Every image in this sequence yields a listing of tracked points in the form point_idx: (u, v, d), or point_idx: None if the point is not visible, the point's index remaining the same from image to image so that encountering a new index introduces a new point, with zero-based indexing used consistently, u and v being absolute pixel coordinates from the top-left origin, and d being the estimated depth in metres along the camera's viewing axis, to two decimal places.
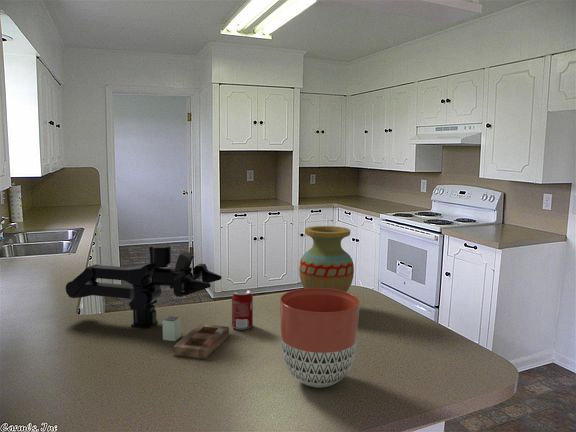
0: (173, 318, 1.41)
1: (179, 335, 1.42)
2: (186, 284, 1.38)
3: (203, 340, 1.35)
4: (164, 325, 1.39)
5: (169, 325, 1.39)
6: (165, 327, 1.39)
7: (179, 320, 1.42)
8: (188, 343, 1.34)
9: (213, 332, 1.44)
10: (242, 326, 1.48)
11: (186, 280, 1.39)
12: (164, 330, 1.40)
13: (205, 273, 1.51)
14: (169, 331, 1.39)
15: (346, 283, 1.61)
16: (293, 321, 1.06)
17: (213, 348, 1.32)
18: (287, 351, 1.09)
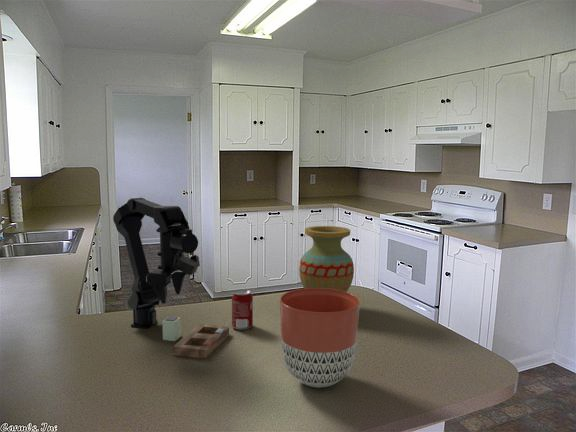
0: (173, 318, 1.41)
1: (179, 335, 1.42)
2: None
3: (203, 340, 1.35)
4: (164, 325, 1.39)
5: (169, 325, 1.39)
6: (165, 327, 1.39)
7: (179, 320, 1.42)
8: (188, 343, 1.34)
9: (213, 332, 1.44)
10: (242, 326, 1.48)
11: None
12: (164, 330, 1.40)
13: (180, 276, 1.44)
14: (169, 331, 1.39)
15: (346, 283, 1.61)
16: (293, 321, 1.06)
17: (213, 348, 1.32)
18: (287, 351, 1.09)
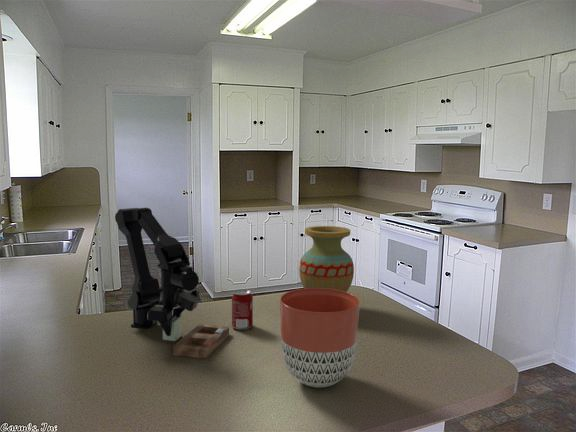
0: None
1: (179, 335, 1.42)
2: None
3: (203, 340, 1.35)
4: None
5: None
6: None
7: (179, 320, 1.42)
8: (188, 343, 1.34)
9: (213, 332, 1.44)
10: (242, 326, 1.48)
11: None
12: None
13: (178, 312, 1.43)
14: None
15: (346, 283, 1.61)
16: (293, 321, 1.06)
17: (213, 348, 1.32)
18: (287, 351, 1.09)
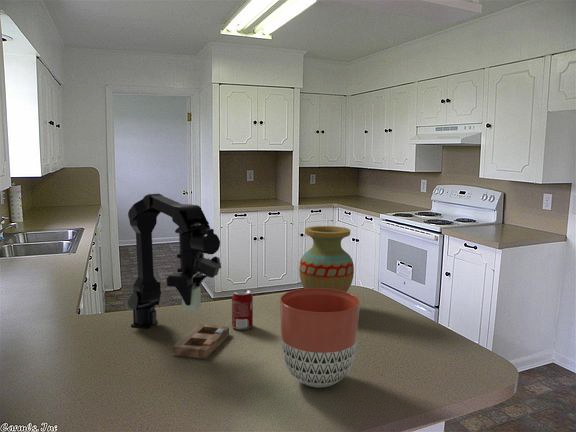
0: (193, 286, 1.32)
1: (199, 305, 1.33)
2: None
3: (203, 340, 1.35)
4: None
5: None
6: None
7: (199, 289, 1.33)
8: (188, 343, 1.34)
9: (213, 332, 1.44)
10: (242, 326, 1.48)
11: None
12: None
13: (197, 281, 1.34)
14: None
15: (346, 283, 1.61)
16: (293, 321, 1.06)
17: (213, 348, 1.32)
18: (287, 351, 1.09)
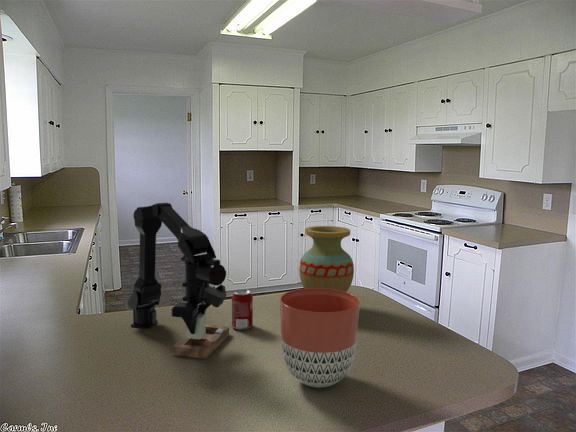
0: (198, 315, 1.31)
1: (204, 333, 1.33)
2: None
3: (203, 340, 1.35)
4: None
5: None
6: None
7: (204, 317, 1.32)
8: (188, 343, 1.34)
9: (213, 332, 1.44)
10: (242, 326, 1.48)
11: None
12: None
13: (202, 309, 1.34)
14: None
15: (346, 283, 1.61)
16: (293, 321, 1.06)
17: (213, 348, 1.32)
18: (287, 351, 1.09)
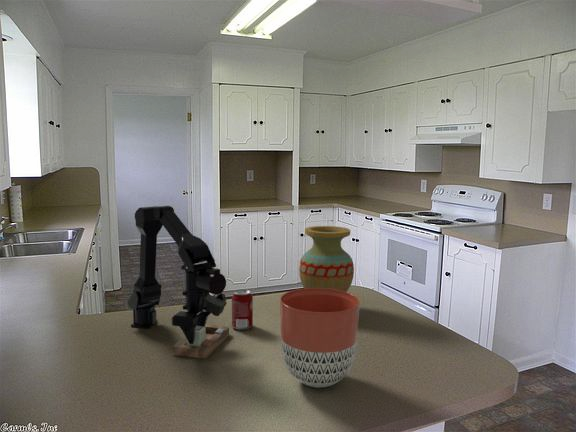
0: (198, 327, 1.32)
1: None
2: None
3: None
4: None
5: None
6: None
7: (204, 329, 1.33)
8: None
9: (213, 332, 1.44)
10: (242, 326, 1.48)
11: None
12: None
13: (203, 316, 1.35)
14: (194, 342, 1.30)
15: (346, 283, 1.61)
16: (293, 321, 1.06)
17: (213, 348, 1.32)
18: (287, 351, 1.09)
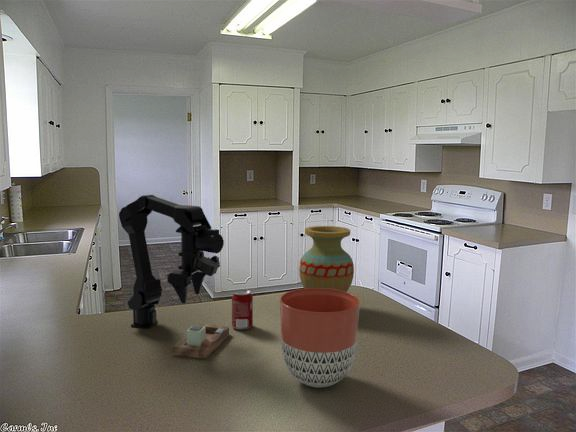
0: (198, 327, 1.32)
1: None
2: None
3: None
4: (188, 335, 1.31)
5: (194, 335, 1.30)
6: (190, 337, 1.31)
7: (204, 329, 1.33)
8: None
9: (213, 332, 1.44)
10: (242, 326, 1.48)
11: None
12: (188, 340, 1.31)
13: (200, 276, 1.44)
14: (194, 342, 1.30)
15: (346, 283, 1.61)
16: (293, 321, 1.06)
17: (213, 348, 1.32)
18: (287, 351, 1.09)
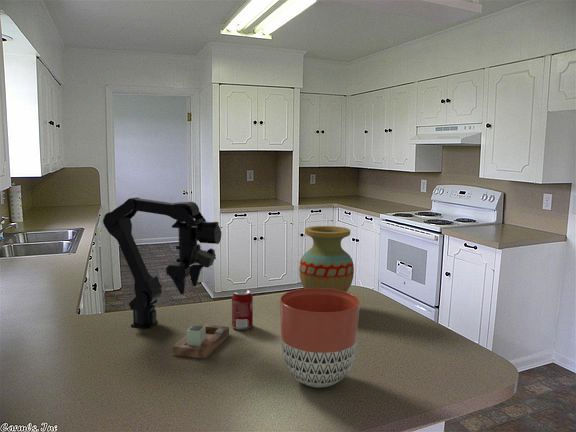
0: (198, 327, 1.32)
1: None
2: None
3: None
4: (188, 335, 1.31)
5: (194, 335, 1.30)
6: (190, 337, 1.31)
7: (204, 329, 1.33)
8: None
9: (213, 332, 1.44)
10: (242, 326, 1.48)
11: None
12: (188, 340, 1.31)
13: (197, 269, 1.51)
14: (194, 342, 1.30)
15: (346, 283, 1.61)
16: (293, 321, 1.06)
17: (213, 348, 1.32)
18: (287, 351, 1.09)
